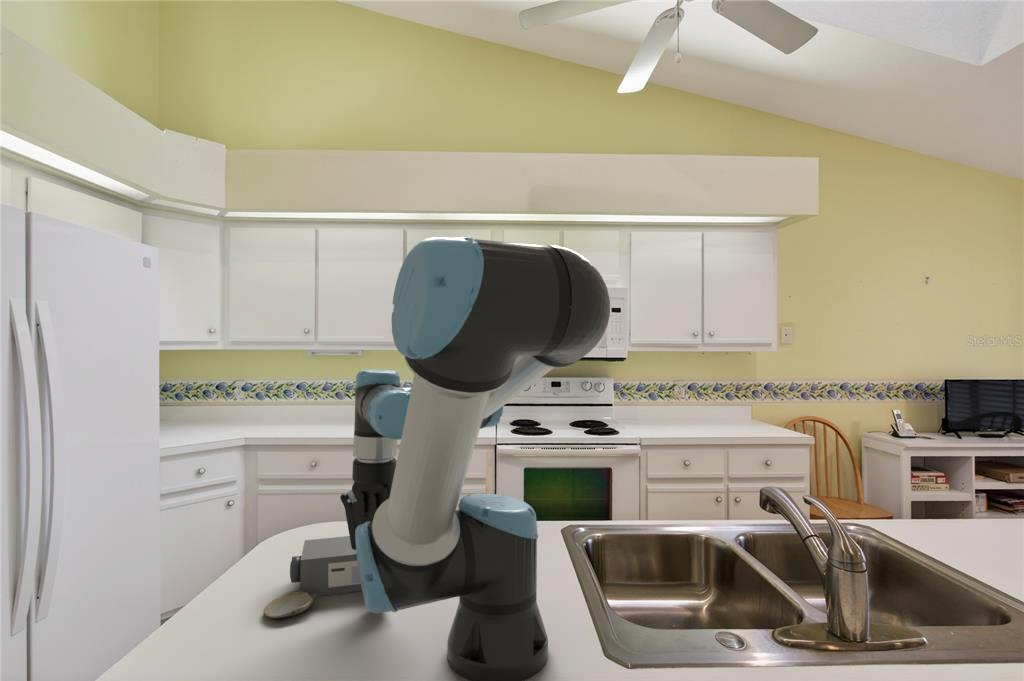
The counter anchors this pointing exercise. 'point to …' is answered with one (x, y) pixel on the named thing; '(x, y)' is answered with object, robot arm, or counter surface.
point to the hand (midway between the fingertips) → (370, 591)
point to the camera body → (326, 567)
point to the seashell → (289, 604)
